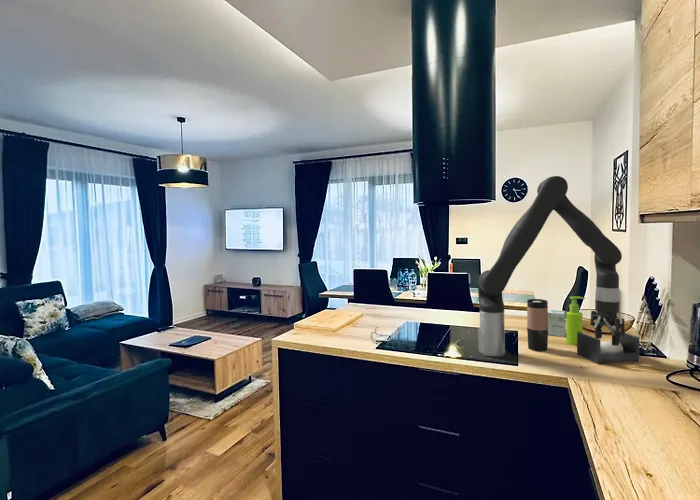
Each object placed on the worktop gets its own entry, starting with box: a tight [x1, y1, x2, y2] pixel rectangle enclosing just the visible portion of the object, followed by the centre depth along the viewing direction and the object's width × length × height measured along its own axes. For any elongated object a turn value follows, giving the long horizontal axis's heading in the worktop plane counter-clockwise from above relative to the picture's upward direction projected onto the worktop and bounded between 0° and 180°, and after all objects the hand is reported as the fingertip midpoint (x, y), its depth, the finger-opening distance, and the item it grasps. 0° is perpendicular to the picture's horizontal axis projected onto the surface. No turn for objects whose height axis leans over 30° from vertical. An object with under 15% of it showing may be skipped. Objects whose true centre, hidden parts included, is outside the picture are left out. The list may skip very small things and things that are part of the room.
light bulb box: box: [548, 309, 566, 338], centre depth 175 cm, size 11×7×11 cm, turn 58°
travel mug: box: [526, 298, 549, 352], centre depth 154 cm, size 8×8×20 cm
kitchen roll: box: [600, 340, 623, 354], centre depth 142 cm, size 11×5×5 cm
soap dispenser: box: [565, 295, 586, 346], centre depth 159 cm, size 6×7×20 cm
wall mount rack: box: [370, 325, 404, 344], centre depth 175 cm, size 16×14×6 cm
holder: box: [576, 330, 640, 365], centre depth 142 cm, size 16×11×9 cm
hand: (606, 341), depth 142 cm, fingers open, 8 cm apart
